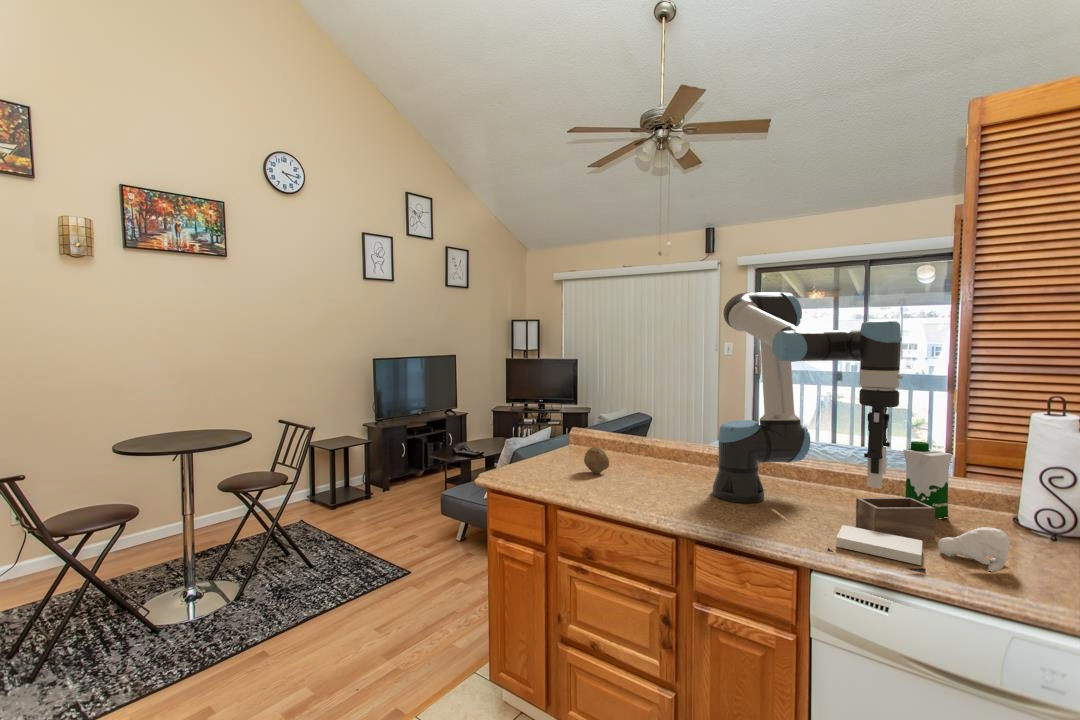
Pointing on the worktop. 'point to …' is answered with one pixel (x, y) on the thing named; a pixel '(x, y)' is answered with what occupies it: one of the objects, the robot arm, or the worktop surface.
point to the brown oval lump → (596, 460)
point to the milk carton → (928, 476)
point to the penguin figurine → (979, 546)
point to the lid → (880, 544)
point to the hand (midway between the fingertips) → (876, 480)
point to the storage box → (896, 517)
